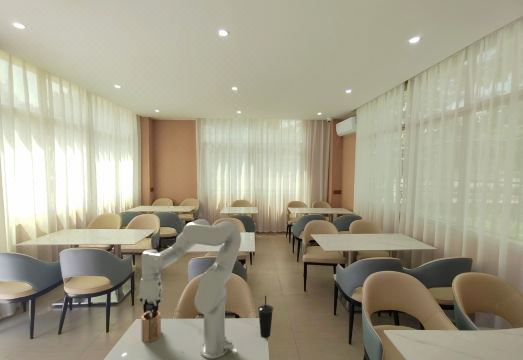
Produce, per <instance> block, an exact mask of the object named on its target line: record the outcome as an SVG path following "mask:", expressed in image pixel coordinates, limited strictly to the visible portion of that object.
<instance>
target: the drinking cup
mask: <svg viewBox="0 0 523 360" xmlns="http://www.w3.org/2000/svg"><path fill="white" fill-rule="evenodd" d="M257 311H258V319H259V320H258V321H259V329H260V330H259V331H260V332H259V333H260V336H261V338H265V339H267V338H266V337H268V338H270V336H271V332H272V322H273V321H272V320H273V319H272V318H273V312H274V307H273V306H272V305H270V304H267V295H265V296H264V304H261V305H259V306H258V308H257Z"/></svg>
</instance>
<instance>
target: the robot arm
mask: <svg viewBox="0 0 523 360" xmlns="http://www.w3.org/2000/svg"><path fill="white" fill-rule="evenodd" d="M241 242H242V235H241V232H240V229H239V228H238V226H237V225H236V224H235V223H234V222H232V221H228V220H224V221H221V222H219V223H217V224H215V225H210V222H208V220H206V219H204V218H198V219H196V220H193V221H191V222H188V223H187V224H186V225H184V227H183V228H182V231H181V232H180V233H179V234H178V235H177V236H176V239H175V242H174V243H173V244H172V245H171V246H170V247H167V248H166V249H164V250H162V251H160V252H159V251H158V250H157V249H146V250H144V251H142V253H141V279H140V284H139V291H138V292H139V293H138V294H137V296H136V299H138V300H139V301H140V302H141V305H143V307H142V309H143V314H144V313H146V312H148V311H147V310H146V303H148V302H149V301H150V300H151V301H153V302H154V306H153V310H152V311H153V313H154V314H155V313H156V312H157V311H159V303H161V302H162V301H163V300H165V296H164V294H163V285H162V279H161V275H162V274H161V273H160V271H161V270H163V269H165V268H167V267H169V266H170V265H172V264H174V263H175V262H177V261H178V260H179V259H181V258H182V257H183V256H184V255H185V254H186V253H187V252H189V251H190V250H191V249H192V248H193V247H195V245H201V246H202V245H203V246H208V247H209V246H211V247H218V246H220V247H219V250H218V252H217V255H216V257H215V258H216V259H215V261H214V263H213V264H212V265H211V266H210V267H209V268H207V269H206V270H205V271H204V272H203V275H202V276H201V278H200V281H199V284H198V287H197V289H196V294H195V295H194V303H193V304H194V306H195V307H194V308H195V310H197V313H200V314H202V315H203V343H202V344H201V346H200V354H201V355H202V356H203V357H204V358H207V359H211V360H213V359H218V358H221V357H223V356H224V355H226V353H227V352H228V350H234V347H235V345H234V344H233V340H232V341H230V340H229V341H228V340H227V338H228V337H227V336H226V335H225V334H226V329H225V328H226V324H225V323H226V317H225V316H226V312H225V311H226V301H227V300H226V299H227V287H226V285H225V284H226V283H227V282H228V281H229V280H230V278H231V275H232V272H233V269H234V266H235V263H236V261H237V257H238V254H239V251H240V249H241ZM159 270H160V271H159Z"/></svg>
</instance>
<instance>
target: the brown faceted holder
mask: <svg viewBox="0 0 523 360" xmlns="http://www.w3.org/2000/svg"><path fill="white" fill-rule="evenodd" d="M161 317H162V315H161V312H160V310H158V311H157V312H156V313H155V314H154V313H153V310H152V318H151V319H150V311H147V312H146V313H144V312H143V314H142V315H141V316H140V318H141V320H140V323H141V324H140V325H141V327H140V329H141V330H140V331H141V341H142V342H143V343H152V342H155V341H158V340H159V338H161V334H162V330H161V329H162V323H161V321H162V319H161Z"/></svg>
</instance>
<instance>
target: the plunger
mask: <svg viewBox="0 0 523 360" xmlns="http://www.w3.org/2000/svg"><path fill="white" fill-rule="evenodd" d="M147 302H148V303H146V310H147V312H148V311H150V319H151V318H152V311H153V306H154V302H153V300H151V301H150V300H149V301H147Z"/></svg>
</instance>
